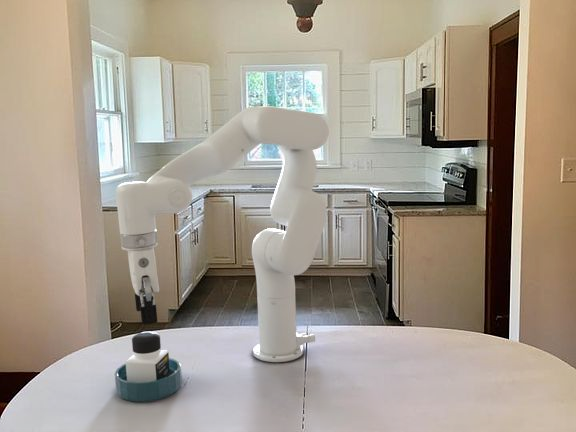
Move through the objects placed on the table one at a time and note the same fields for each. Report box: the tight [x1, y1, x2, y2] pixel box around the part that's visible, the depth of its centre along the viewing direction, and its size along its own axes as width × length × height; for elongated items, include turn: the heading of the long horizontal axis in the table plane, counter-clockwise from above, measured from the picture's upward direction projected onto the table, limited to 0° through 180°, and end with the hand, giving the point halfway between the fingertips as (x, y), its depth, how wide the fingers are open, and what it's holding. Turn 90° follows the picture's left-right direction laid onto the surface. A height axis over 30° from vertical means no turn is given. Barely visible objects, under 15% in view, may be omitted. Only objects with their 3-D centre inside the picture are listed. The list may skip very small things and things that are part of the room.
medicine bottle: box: [125, 331, 170, 382], centre depth 133 cm, size 7×7×12 cm
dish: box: [114, 357, 183, 403], centre depth 134 cm, size 14×14×4 cm
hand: (146, 316), depth 132 cm, fingers open, 9 cm apart
